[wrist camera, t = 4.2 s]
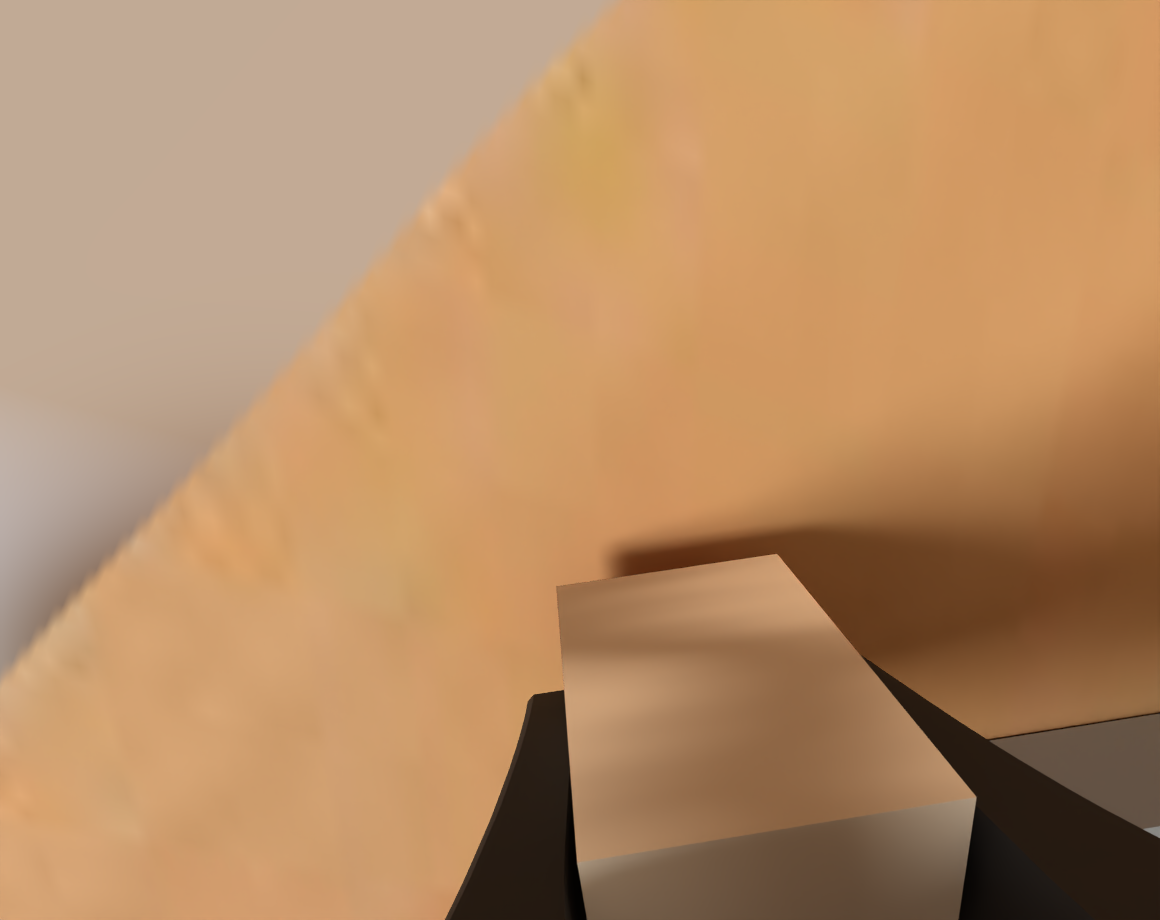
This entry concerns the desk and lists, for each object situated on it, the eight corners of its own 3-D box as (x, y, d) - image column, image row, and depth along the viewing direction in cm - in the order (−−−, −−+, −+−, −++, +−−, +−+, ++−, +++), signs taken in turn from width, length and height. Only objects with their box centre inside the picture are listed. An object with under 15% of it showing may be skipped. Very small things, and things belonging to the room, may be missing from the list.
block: (582, 757, 12) (617, 1095, 7) (556, 586, 10) (576, 862, 6) (778, 726, 12) (941, 1038, 7) (777, 554, 10) (977, 796, 6)
